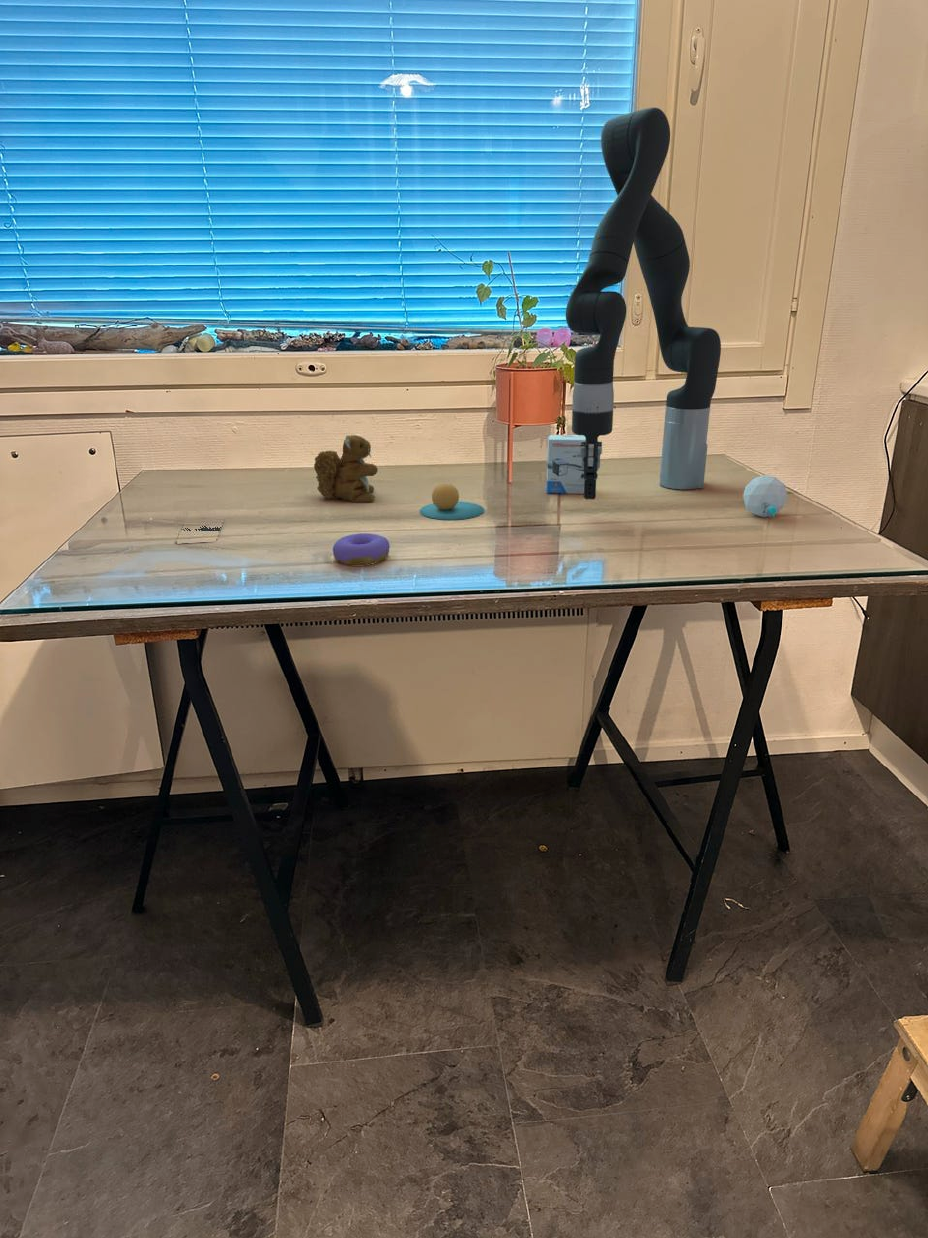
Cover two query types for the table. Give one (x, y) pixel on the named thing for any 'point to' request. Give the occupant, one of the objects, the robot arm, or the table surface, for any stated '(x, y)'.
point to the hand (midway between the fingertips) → (589, 497)
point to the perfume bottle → (765, 496)
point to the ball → (445, 496)
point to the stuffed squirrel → (346, 471)
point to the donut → (361, 549)
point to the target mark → (453, 511)
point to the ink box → (565, 464)
